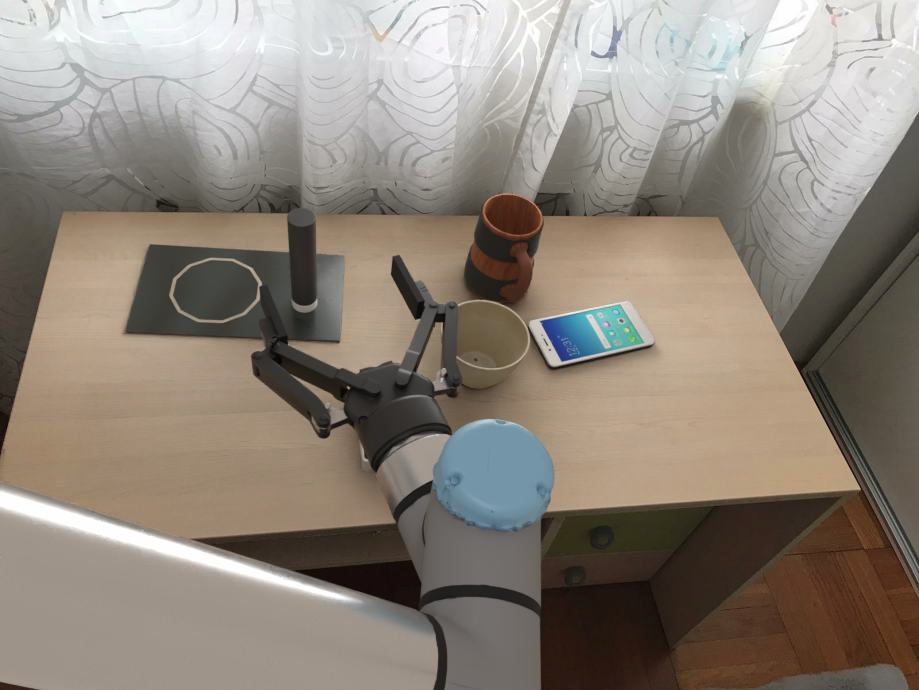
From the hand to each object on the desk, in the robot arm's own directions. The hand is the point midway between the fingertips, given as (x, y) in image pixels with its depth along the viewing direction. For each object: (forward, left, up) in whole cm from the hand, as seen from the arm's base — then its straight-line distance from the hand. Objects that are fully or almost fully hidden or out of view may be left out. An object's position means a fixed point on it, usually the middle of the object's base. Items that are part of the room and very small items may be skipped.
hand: (331, 278), depth 74 cm
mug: (+21, +13, -15) cm, 29 cm away
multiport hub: (+6, -8, -15) cm, 18 cm away
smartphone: (+32, +6, -15) cm, 36 cm away
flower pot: (+17, 0, -15) cm, 22 cm away
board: (-11, +10, -15) cm, 21 cm away
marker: (-4, +9, -14) cm, 17 cm away
